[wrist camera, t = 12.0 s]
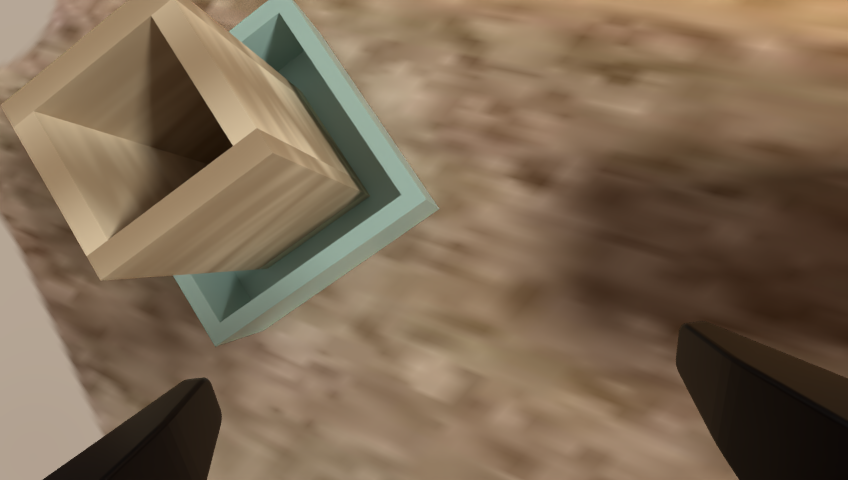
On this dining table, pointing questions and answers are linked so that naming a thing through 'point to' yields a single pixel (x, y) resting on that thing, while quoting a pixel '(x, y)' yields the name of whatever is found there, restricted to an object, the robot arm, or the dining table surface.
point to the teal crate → (351, 233)
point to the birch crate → (179, 147)
